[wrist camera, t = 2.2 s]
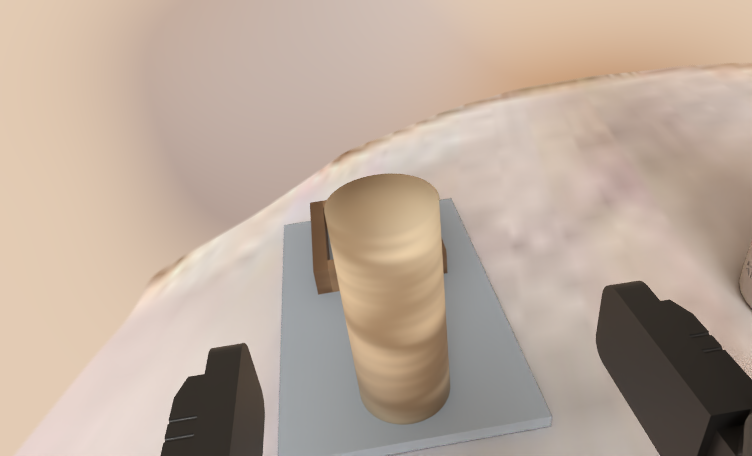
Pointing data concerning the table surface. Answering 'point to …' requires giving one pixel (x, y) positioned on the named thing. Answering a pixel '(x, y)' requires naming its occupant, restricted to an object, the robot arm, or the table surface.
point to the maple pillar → (392, 293)
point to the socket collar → (320, 252)
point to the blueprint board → (338, 376)
